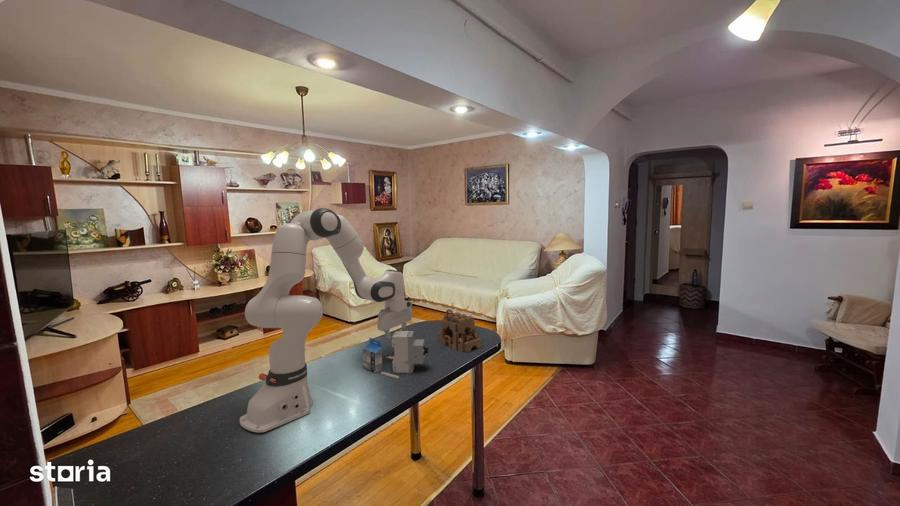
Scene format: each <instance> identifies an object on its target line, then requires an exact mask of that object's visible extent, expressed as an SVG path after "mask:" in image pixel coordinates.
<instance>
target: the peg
mask: <svg viewBox="0 0 900 506" xmlns="http://www.w3.org/2000/svg"><path fill="white" fill-rule="evenodd" d="M380 372H381V373H380V374H381V375H382V376H385V377H389V378H392V379H396V380H400V376H399V375H395V374H394V373H393V374H392V373H388V372H385V371H380Z"/></svg>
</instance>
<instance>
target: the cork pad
mask: <svg viewBox="0 0 900 506" xmlns="http://www.w3.org/2000/svg"><path fill="white" fill-rule="evenodd" d="M394 357H395V356H394V355H392V356H391V355H389V356H385V358H387V359H390V360H392V361H393V360H394Z"/></svg>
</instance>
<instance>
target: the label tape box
mask: <svg viewBox="0 0 900 506" xmlns="http://www.w3.org/2000/svg"><path fill="white" fill-rule="evenodd" d="M362 362H363V363H362V368H364V369H366V370H368V371H370V372H372V373H375V374H376V373H379V372H383V346H382V341H380V340H378V339H374V338H372V337H369V343H368V344H367V345H366V346H364V347H363V348H362Z"/></svg>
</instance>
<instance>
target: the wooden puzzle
mask: <svg viewBox="0 0 900 506" xmlns="http://www.w3.org/2000/svg"><path fill="white" fill-rule="evenodd" d="M437 340H438V341H439V343H441V344H443V346H444V347H445V346H447V345H448V349H452V350H455V351H458V352H459V353H463V352H465V353H469V352H470V353H471V351H472V348H475V349H477V350H478V349H481V348H482V338H479V334H478V333H477V329H476V325H475V320H474V317H473V316H472V315H466V314H465V313H463V314H462V313H460V312H459V311H457V312H455V313H454V311H453V310H452V309H447V310H445V315H443V318H441V327H440V328H439V332H437Z"/></svg>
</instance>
